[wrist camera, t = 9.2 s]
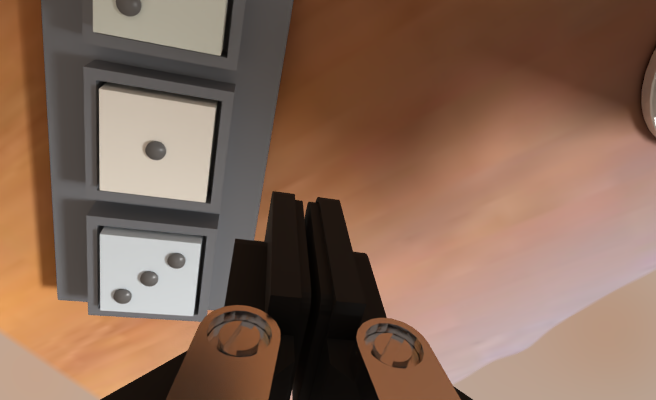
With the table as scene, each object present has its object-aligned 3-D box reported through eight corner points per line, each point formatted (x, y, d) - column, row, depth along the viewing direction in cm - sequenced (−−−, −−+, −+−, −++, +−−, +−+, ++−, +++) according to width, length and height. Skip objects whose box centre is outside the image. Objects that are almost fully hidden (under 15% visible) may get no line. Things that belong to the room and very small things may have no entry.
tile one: (218, 98, 27) (215, 108, 25) (208, 188, 29) (205, 204, 28) (109, 80, 26) (97, 89, 24) (109, 176, 28) (98, 191, 26)
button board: (305, -86, 25) (312, -93, 22) (242, 299, 36) (241, 330, 33) (44, -156, 22) (11, -175, 19) (65, 286, 34) (46, 319, 30)
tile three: (204, 227, 31) (200, 245, 29) (196, 297, 33) (192, 318, 31) (109, 217, 29) (98, 235, 27) (108, 291, 32) (99, 312, 30)
